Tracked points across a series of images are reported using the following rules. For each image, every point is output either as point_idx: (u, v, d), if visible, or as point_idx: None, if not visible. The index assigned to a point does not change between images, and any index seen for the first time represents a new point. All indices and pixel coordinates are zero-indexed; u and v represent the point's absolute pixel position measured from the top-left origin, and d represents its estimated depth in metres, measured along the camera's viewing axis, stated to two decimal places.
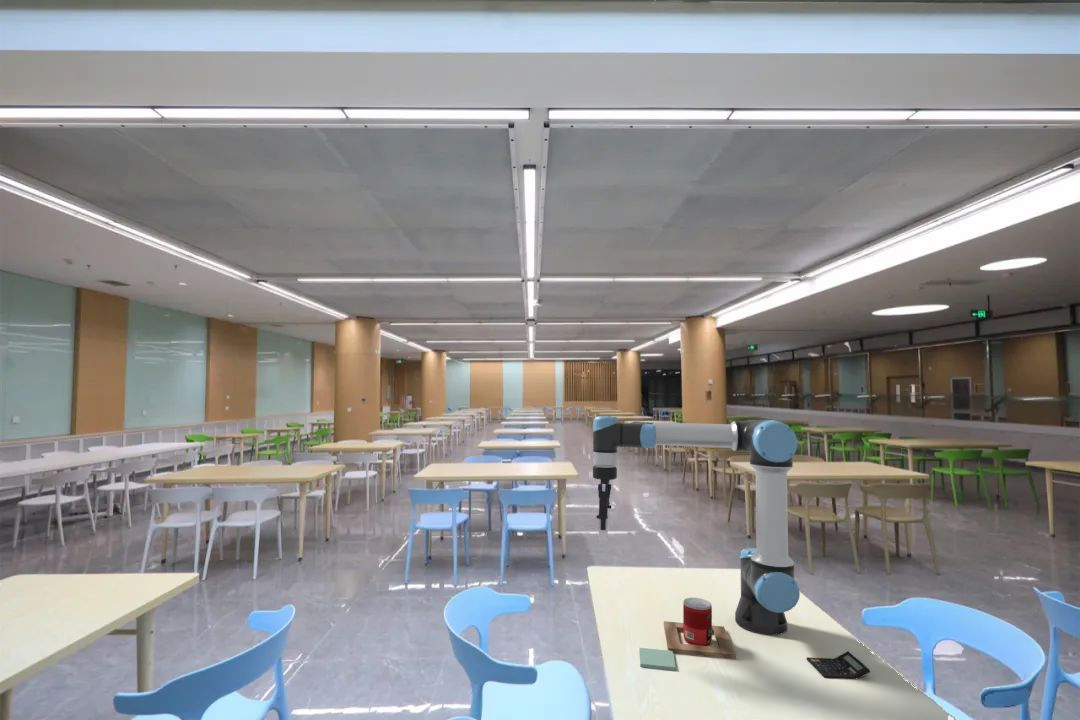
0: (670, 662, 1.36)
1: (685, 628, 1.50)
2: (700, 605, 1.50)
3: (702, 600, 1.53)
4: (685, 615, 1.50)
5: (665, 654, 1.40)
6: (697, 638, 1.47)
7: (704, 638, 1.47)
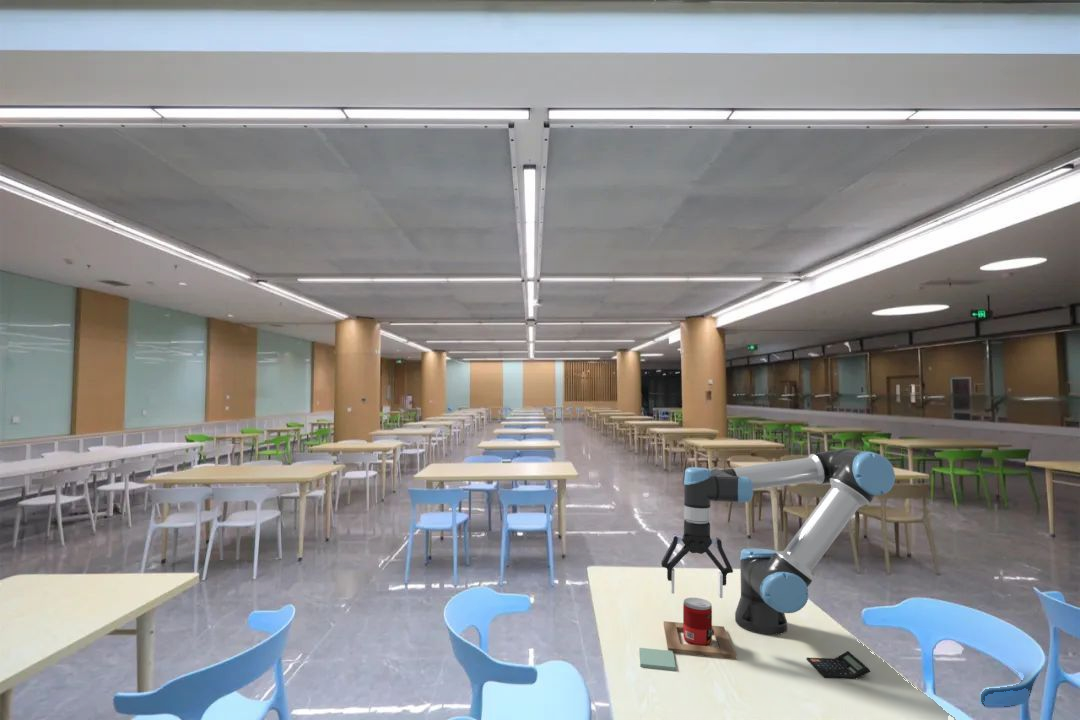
0: (670, 662, 1.36)
1: (685, 628, 1.50)
2: (700, 605, 1.50)
3: (702, 600, 1.53)
4: (685, 615, 1.50)
5: (665, 654, 1.40)
6: (697, 638, 1.47)
7: (704, 638, 1.47)
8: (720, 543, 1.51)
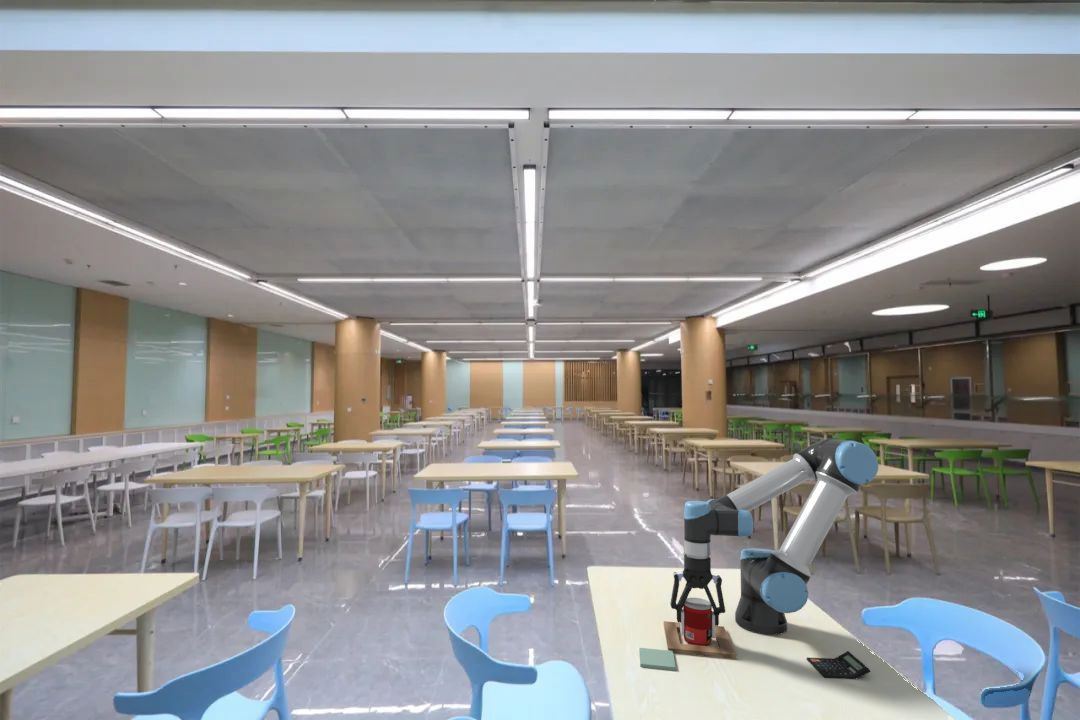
0: (670, 662, 1.36)
1: (685, 628, 1.50)
2: (700, 605, 1.50)
3: (702, 600, 1.53)
4: (685, 615, 1.50)
5: (665, 654, 1.40)
6: (697, 638, 1.47)
7: (704, 638, 1.47)
8: (720, 581, 1.50)
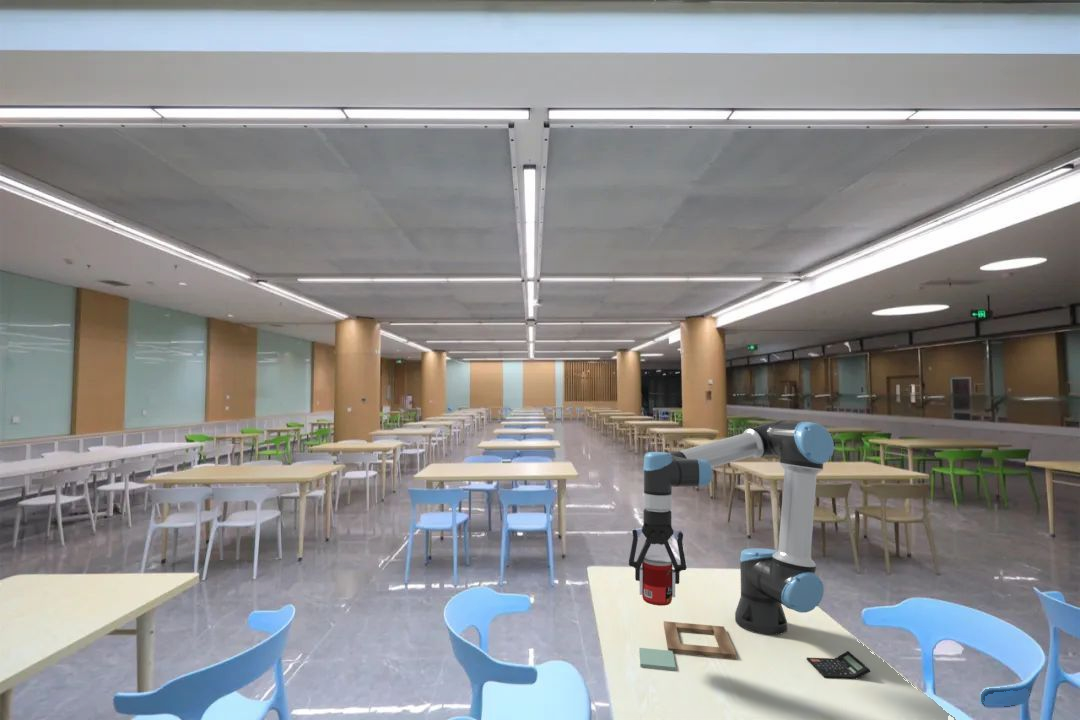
0: (670, 662, 1.36)
1: (643, 586, 1.40)
2: (660, 562, 1.40)
3: (663, 557, 1.43)
4: (644, 572, 1.40)
5: (665, 654, 1.40)
6: (655, 596, 1.37)
7: (662, 596, 1.37)
8: (681, 537, 1.39)
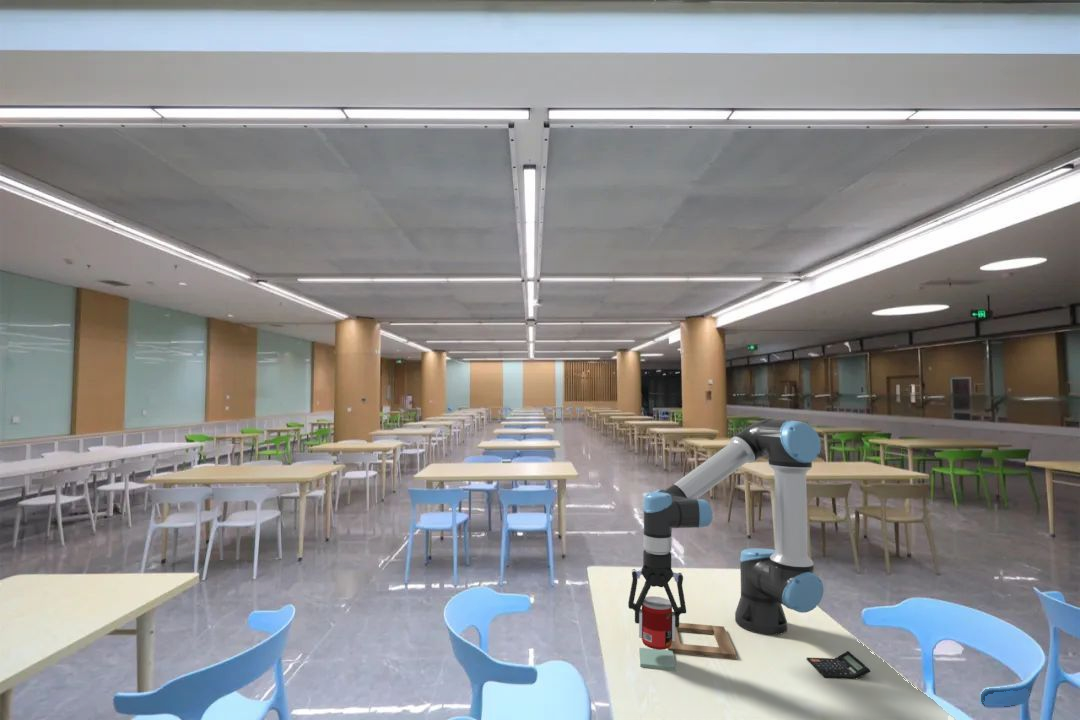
0: (670, 662, 1.36)
1: (643, 629, 1.39)
2: (659, 604, 1.39)
3: (662, 599, 1.42)
4: (643, 615, 1.39)
5: (665, 654, 1.40)
6: (655, 640, 1.36)
7: (662, 640, 1.36)
8: (681, 579, 1.38)
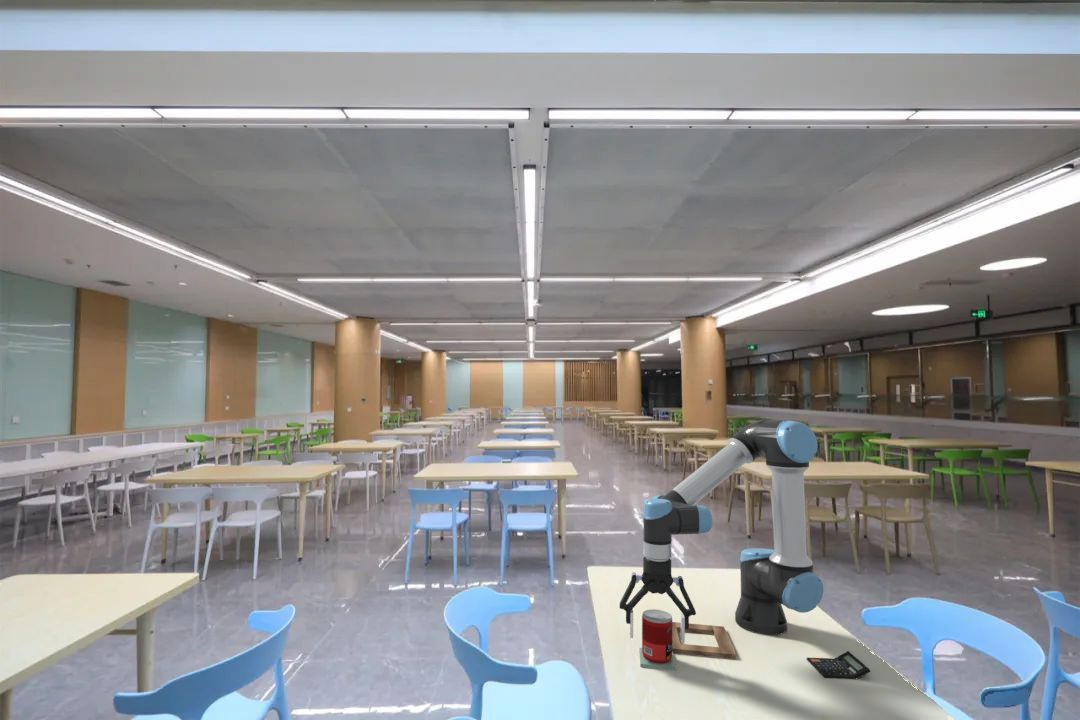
0: (670, 662, 1.36)
1: (643, 643, 1.38)
2: (660, 618, 1.38)
3: (663, 612, 1.42)
4: (643, 629, 1.39)
5: None
6: (655, 654, 1.35)
7: (663, 654, 1.35)
8: (682, 582, 1.38)
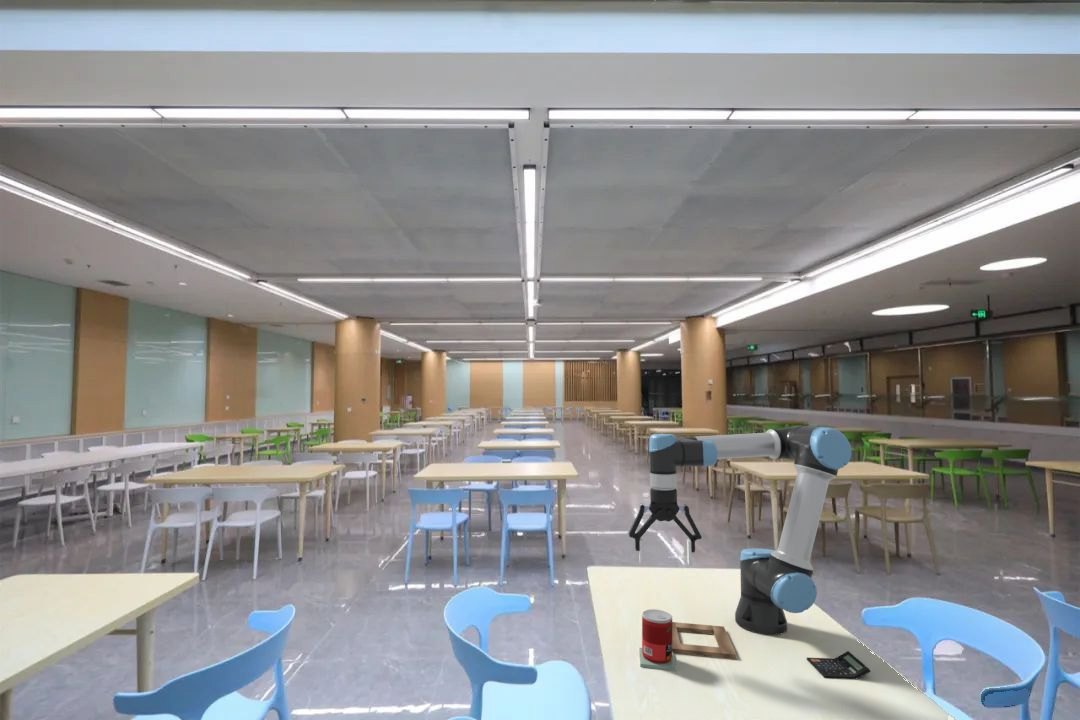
0: (670, 662, 1.36)
1: (643, 643, 1.38)
2: (660, 618, 1.38)
3: (663, 612, 1.42)
4: (643, 629, 1.39)
5: None
6: (655, 654, 1.35)
7: (663, 654, 1.35)
8: (687, 509, 1.47)
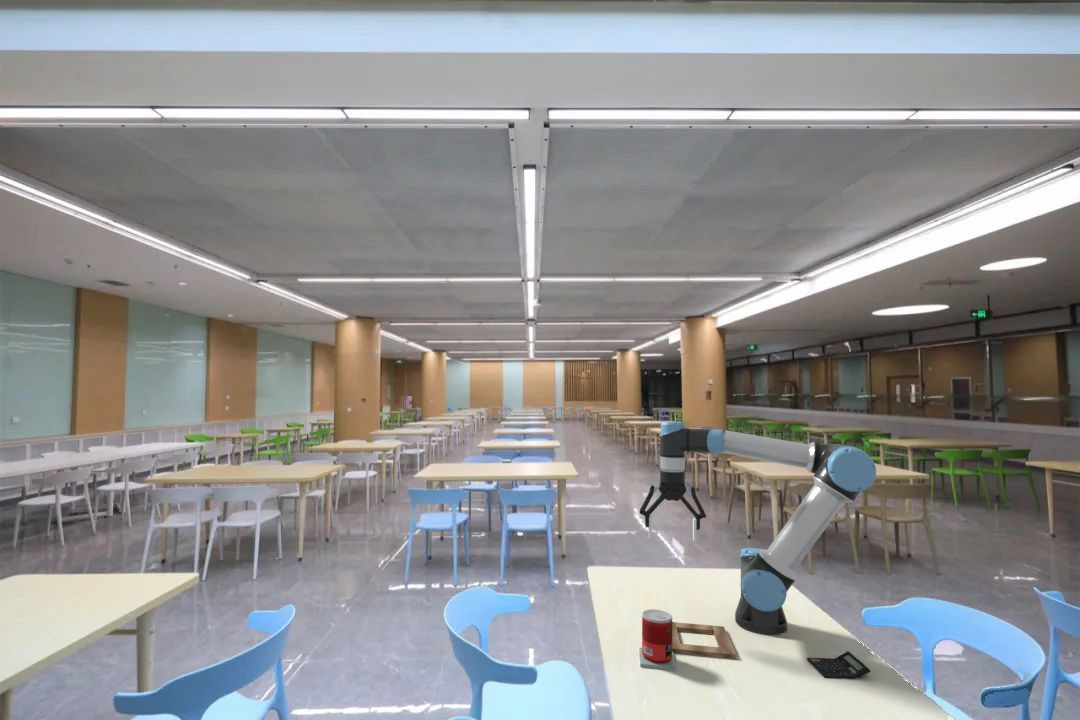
0: (670, 662, 1.36)
1: (643, 643, 1.38)
2: (660, 618, 1.38)
3: (663, 612, 1.42)
4: (643, 629, 1.39)
5: None
6: (655, 654, 1.35)
7: (663, 654, 1.35)
8: (694, 490, 1.61)
